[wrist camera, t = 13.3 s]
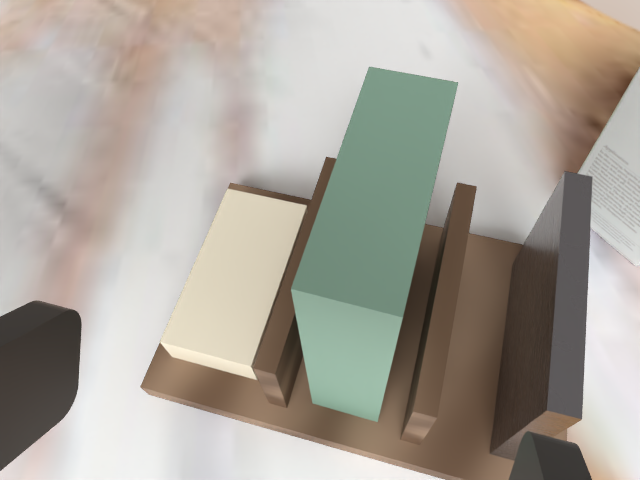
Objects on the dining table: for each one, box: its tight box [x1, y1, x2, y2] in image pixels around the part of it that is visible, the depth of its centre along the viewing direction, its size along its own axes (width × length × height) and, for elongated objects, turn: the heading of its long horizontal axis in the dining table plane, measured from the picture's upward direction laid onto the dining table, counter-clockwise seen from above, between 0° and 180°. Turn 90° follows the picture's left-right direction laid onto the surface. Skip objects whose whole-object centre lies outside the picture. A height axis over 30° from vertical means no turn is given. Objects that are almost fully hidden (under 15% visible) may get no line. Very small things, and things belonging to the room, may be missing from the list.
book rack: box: [141, 157, 567, 480], centre depth 29 cm, size 22×14×8 cm, turn 74°
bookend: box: [490, 171, 593, 461], centre depth 26 cm, size 1×11×9 cm, turn 164°
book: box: [291, 67, 458, 422], centre depth 25 cm, size 4×10×14 cm, turn 164°
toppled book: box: [160, 189, 307, 380], centre depth 32 cm, size 5×10×2 cm, turn 164°
